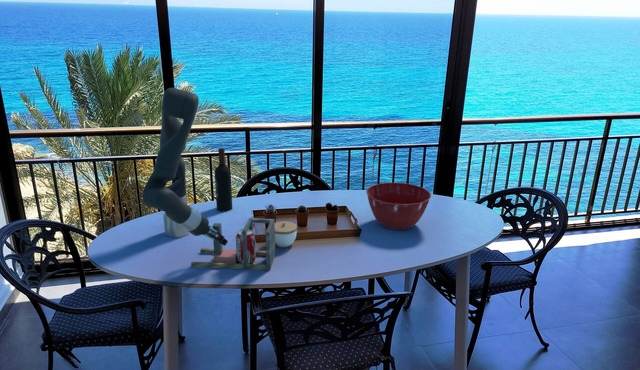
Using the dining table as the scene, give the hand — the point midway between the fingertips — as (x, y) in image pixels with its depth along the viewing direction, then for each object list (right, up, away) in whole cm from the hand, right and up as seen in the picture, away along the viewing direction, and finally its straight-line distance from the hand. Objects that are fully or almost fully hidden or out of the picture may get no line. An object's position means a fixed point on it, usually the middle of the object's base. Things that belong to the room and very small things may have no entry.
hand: (222, 241), depth 167 cm
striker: (+1, -7, +1) cm, 7 cm away
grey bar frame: (+5, -7, 0) cm, 9 cm away
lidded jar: (+22, -3, +15) cm, 27 cm away
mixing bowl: (+71, +3, +36) cm, 80 cm away
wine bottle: (-10, +9, +51) cm, 53 cm away
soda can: (+9, -8, 0) cm, 12 cm away
